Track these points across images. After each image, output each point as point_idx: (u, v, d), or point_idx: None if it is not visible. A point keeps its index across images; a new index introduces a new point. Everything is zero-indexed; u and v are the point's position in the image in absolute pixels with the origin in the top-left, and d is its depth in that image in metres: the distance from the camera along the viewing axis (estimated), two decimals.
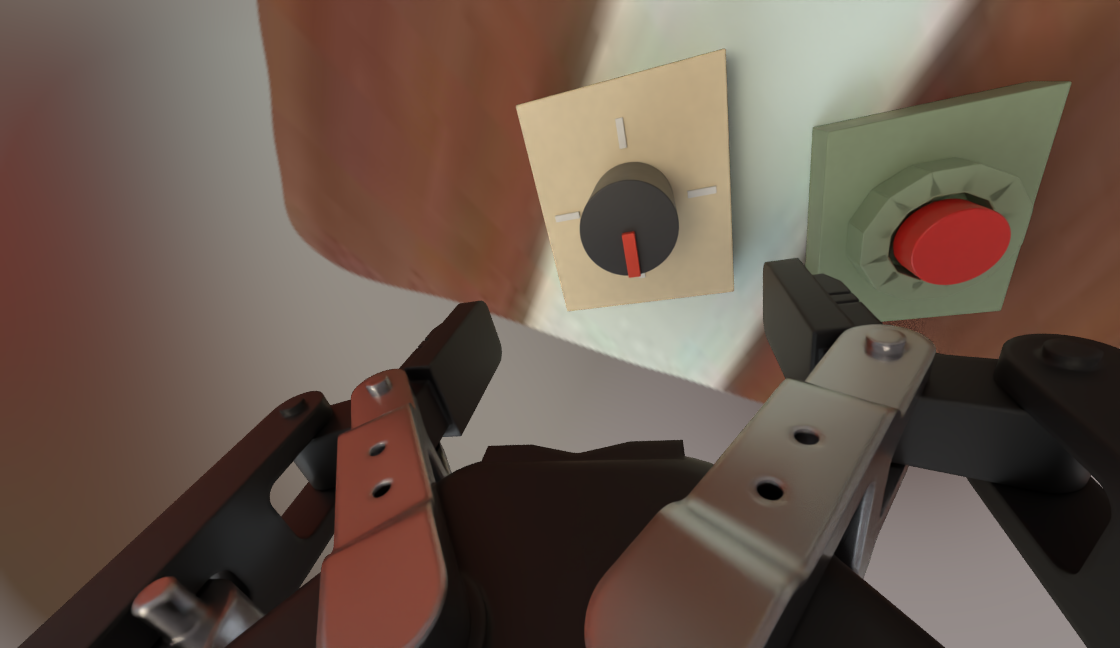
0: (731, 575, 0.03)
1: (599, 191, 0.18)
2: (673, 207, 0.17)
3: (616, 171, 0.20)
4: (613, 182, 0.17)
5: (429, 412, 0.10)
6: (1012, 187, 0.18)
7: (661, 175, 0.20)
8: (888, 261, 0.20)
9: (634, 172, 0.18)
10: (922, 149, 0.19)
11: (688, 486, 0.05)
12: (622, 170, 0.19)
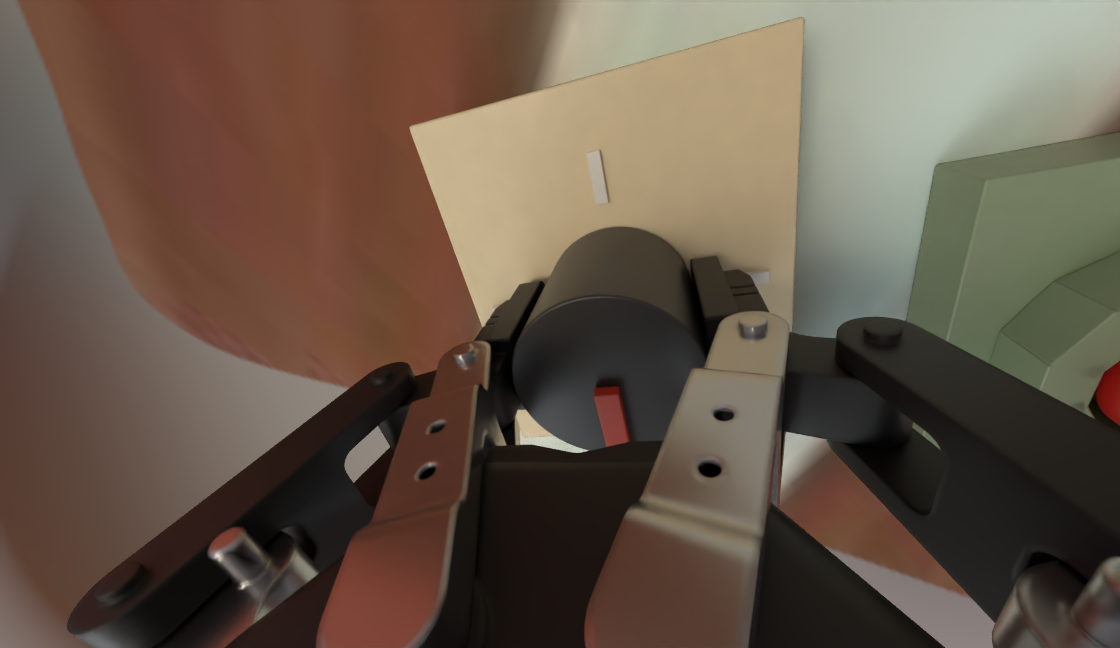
0: (706, 554, 0.04)
1: (544, 313, 0.08)
2: (700, 350, 0.08)
3: (587, 253, 0.10)
4: (573, 297, 0.08)
5: (509, 383, 0.10)
6: None
7: (671, 256, 0.11)
8: (1087, 413, 0.11)
9: (619, 264, 0.09)
10: None
11: None
12: (597, 253, 0.10)
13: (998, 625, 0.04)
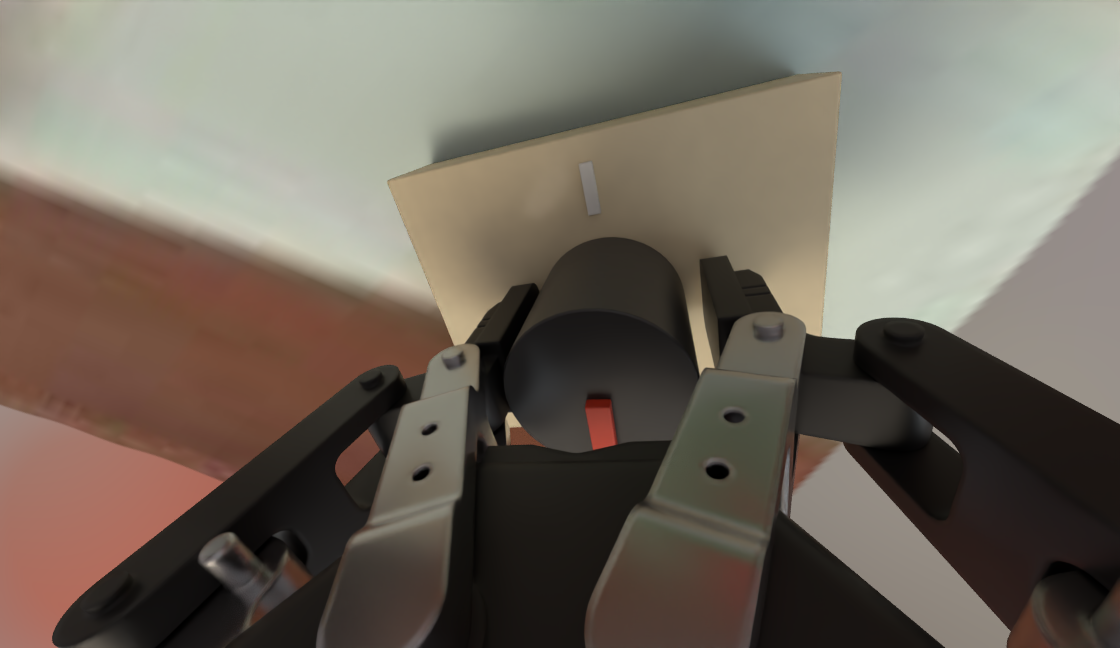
0: (710, 557, 0.04)
1: (540, 324, 0.08)
2: (693, 368, 0.08)
3: (583, 262, 0.10)
4: (570, 309, 0.08)
5: (498, 386, 0.10)
6: None
7: (666, 270, 0.11)
8: None
9: (616, 277, 0.09)
10: None
11: None
12: (594, 264, 0.10)
13: (1013, 633, 0.04)
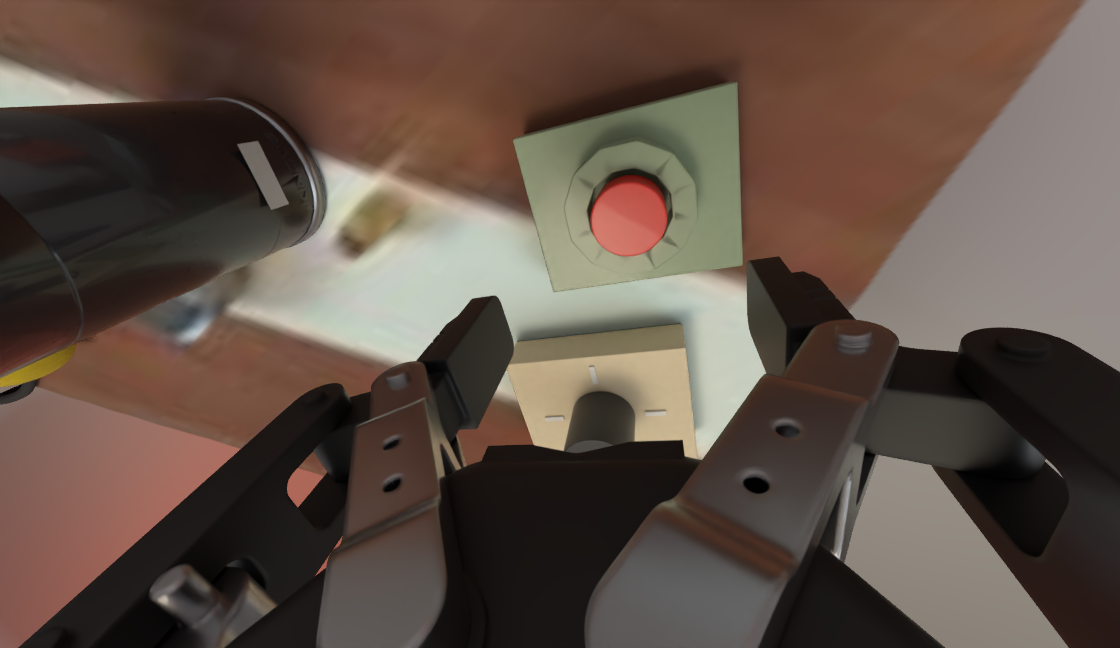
0: (726, 570, 0.03)
1: (576, 443, 0.24)
2: None
3: (591, 410, 0.26)
4: (587, 439, 0.24)
5: (447, 404, 0.10)
6: (582, 176, 0.20)
7: (625, 409, 0.27)
8: None
9: (603, 421, 0.25)
10: (563, 225, 0.23)
11: None
12: (595, 412, 0.26)
13: None
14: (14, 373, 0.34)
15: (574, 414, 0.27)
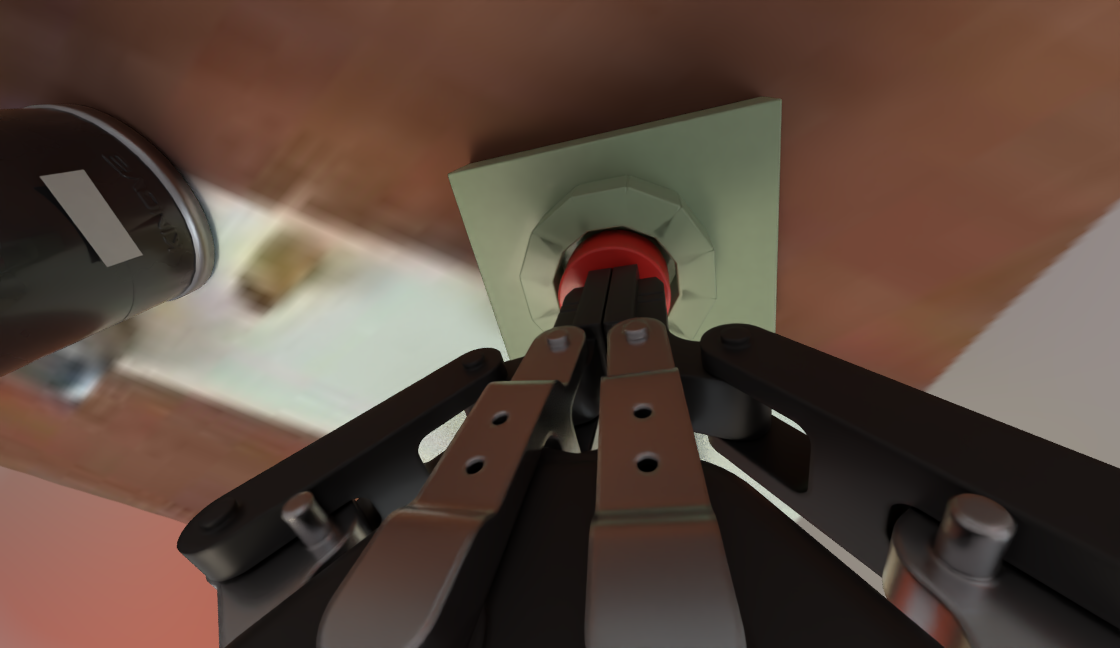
0: (676, 542, 0.04)
1: None
2: None
3: None
4: None
5: (598, 370, 0.09)
6: (544, 234, 0.13)
7: None
8: None
9: None
10: None
11: None
12: None
13: (887, 579, 0.05)
14: None
15: None
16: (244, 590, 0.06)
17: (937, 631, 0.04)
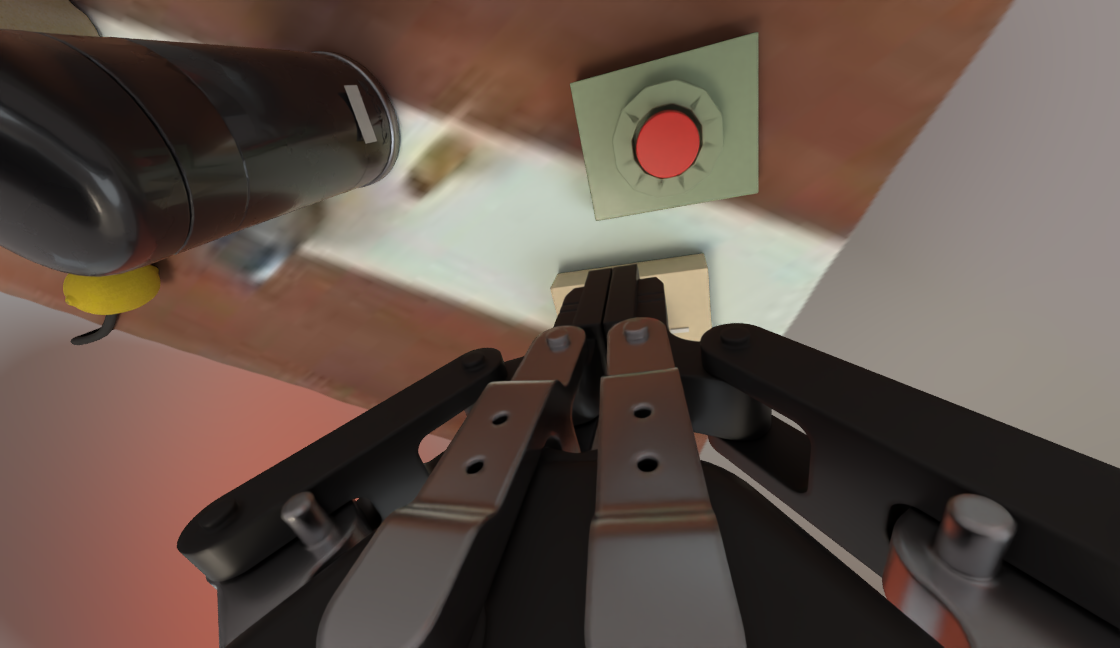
0: (675, 542, 0.04)
1: None
2: None
3: None
4: None
5: (598, 371, 0.09)
6: (629, 111, 0.24)
7: None
8: (683, 174, 0.26)
9: None
10: (608, 159, 0.28)
11: None
12: None
13: (887, 579, 0.05)
14: (115, 302, 0.39)
15: None
16: (244, 590, 0.06)
17: (937, 631, 0.04)
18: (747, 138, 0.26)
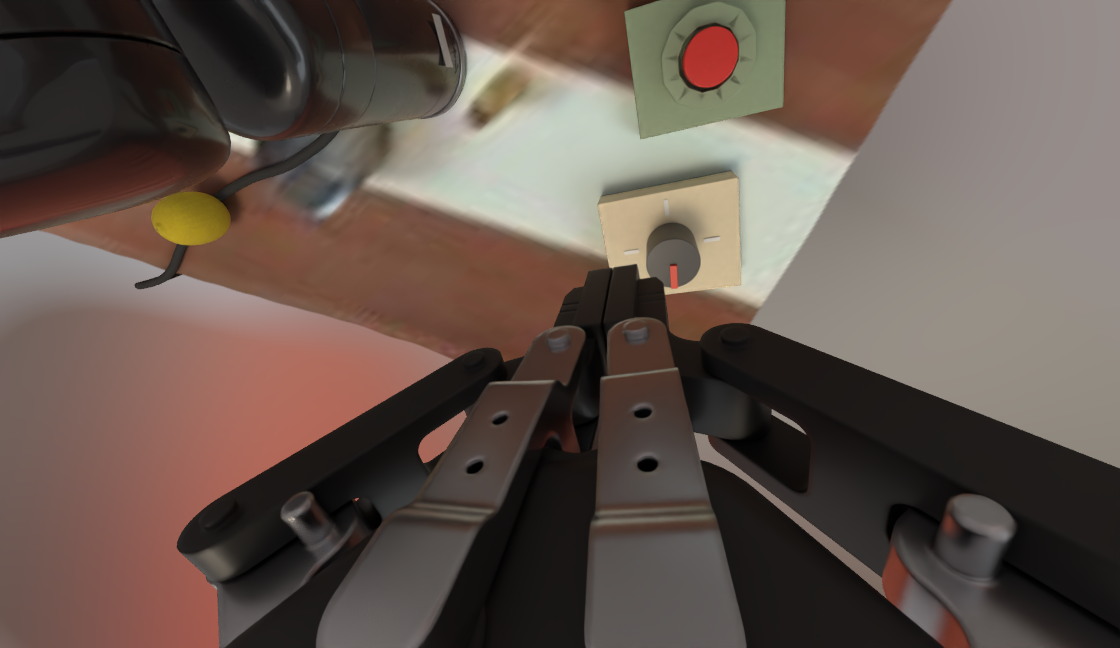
0: (675, 542, 0.04)
1: (660, 243, 0.34)
2: (698, 253, 0.33)
3: (666, 229, 0.35)
4: (668, 238, 0.33)
5: (598, 370, 0.09)
6: (677, 30, 0.29)
7: (690, 232, 0.36)
8: (721, 87, 0.30)
9: (677, 232, 0.34)
10: (654, 80, 0.32)
11: None
12: (670, 229, 0.35)
13: (887, 580, 0.05)
14: (196, 231, 0.43)
15: (651, 237, 0.36)
16: (244, 590, 0.06)
17: (937, 631, 0.04)
18: (775, 56, 0.30)
